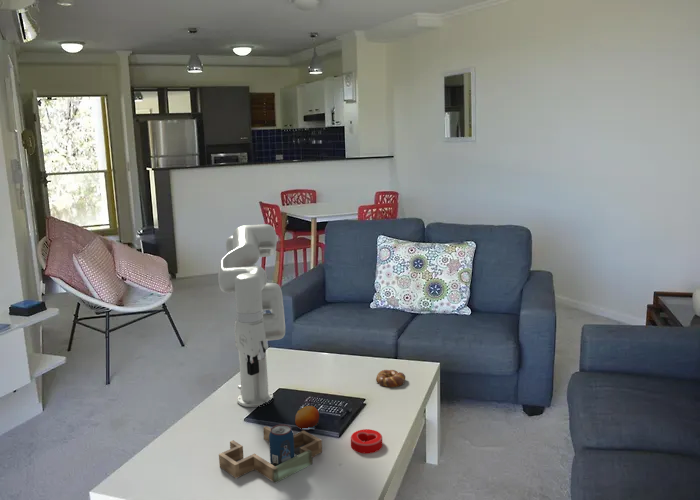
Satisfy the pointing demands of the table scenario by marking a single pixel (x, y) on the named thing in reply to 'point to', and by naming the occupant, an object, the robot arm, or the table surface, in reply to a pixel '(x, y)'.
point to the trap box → (236, 467)
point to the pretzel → (390, 378)
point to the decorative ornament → (366, 441)
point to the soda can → (281, 444)
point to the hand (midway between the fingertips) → (253, 373)
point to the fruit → (307, 417)
